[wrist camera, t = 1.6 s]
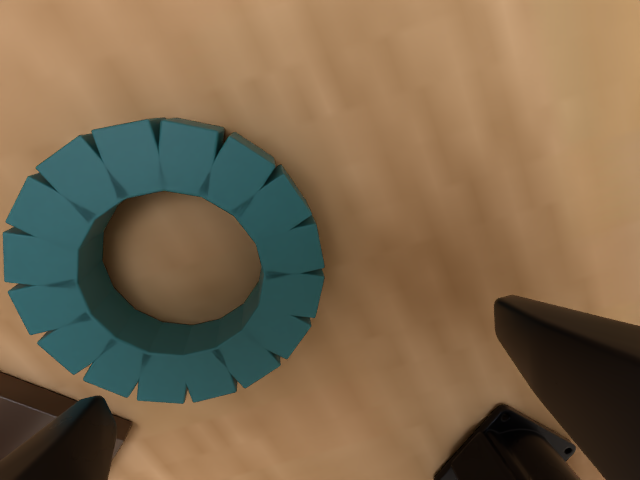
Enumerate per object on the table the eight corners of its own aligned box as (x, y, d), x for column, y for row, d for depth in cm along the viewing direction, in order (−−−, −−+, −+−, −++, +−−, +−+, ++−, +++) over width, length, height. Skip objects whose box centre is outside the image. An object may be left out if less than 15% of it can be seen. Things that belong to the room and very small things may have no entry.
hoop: (364, 217, 17) (379, 233, 15) (233, 401, 20) (229, 439, 17) (119, 55, 14) (92, 45, 12) (-6, 299, 16) (-50, 329, 14)
